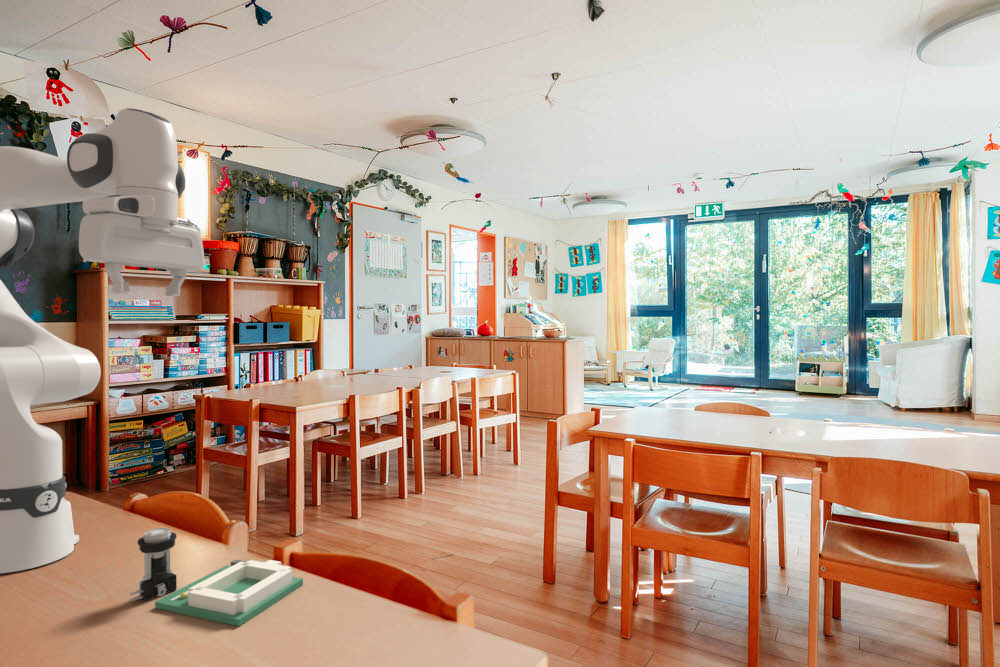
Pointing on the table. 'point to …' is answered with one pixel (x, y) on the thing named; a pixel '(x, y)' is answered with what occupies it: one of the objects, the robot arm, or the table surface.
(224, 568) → the board
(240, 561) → the lead
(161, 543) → the push button
